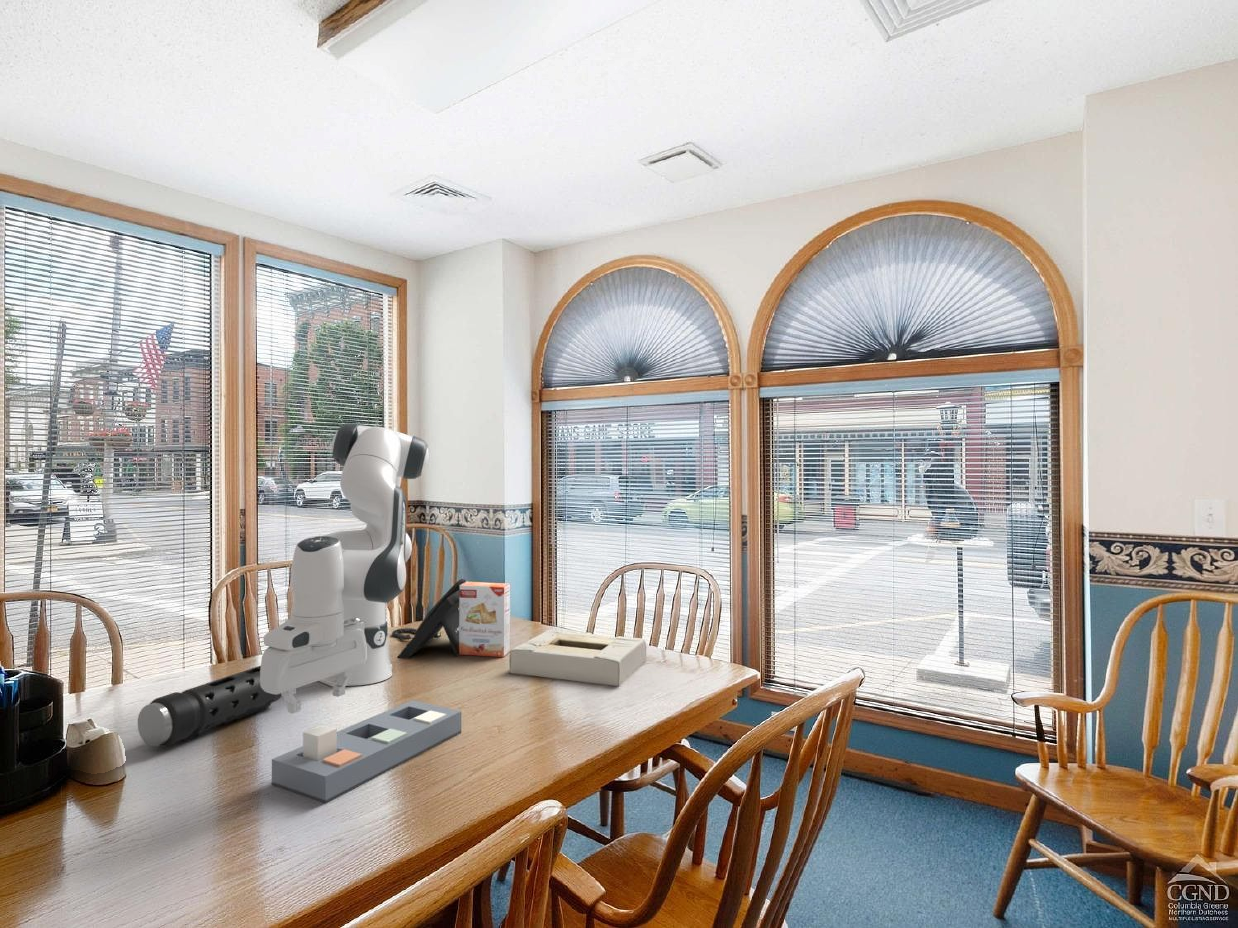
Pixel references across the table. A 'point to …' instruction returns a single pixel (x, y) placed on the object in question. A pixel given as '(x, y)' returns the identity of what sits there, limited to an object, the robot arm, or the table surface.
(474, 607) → the cracker box
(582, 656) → the box
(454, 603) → the office phone
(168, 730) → the muzzle brake
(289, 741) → the table surface
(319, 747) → the plug
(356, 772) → the socket block
